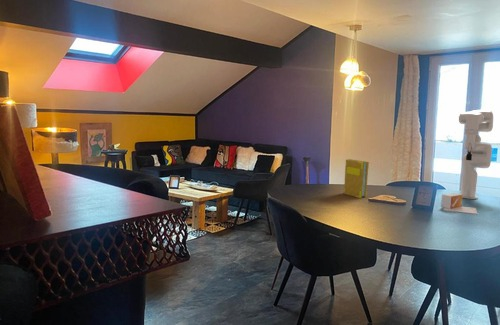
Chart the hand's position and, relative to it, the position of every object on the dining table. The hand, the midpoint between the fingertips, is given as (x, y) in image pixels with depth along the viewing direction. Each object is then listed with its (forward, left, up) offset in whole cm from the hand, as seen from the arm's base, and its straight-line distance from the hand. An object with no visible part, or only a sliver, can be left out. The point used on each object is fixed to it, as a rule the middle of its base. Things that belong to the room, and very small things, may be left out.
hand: (468, 160), depth 253 cm
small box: (+12, -4, -25) cm, 28 cm away
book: (+15, -70, -30) cm, 77 cm away
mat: (+20, -3, -30) cm, 36 cm away
